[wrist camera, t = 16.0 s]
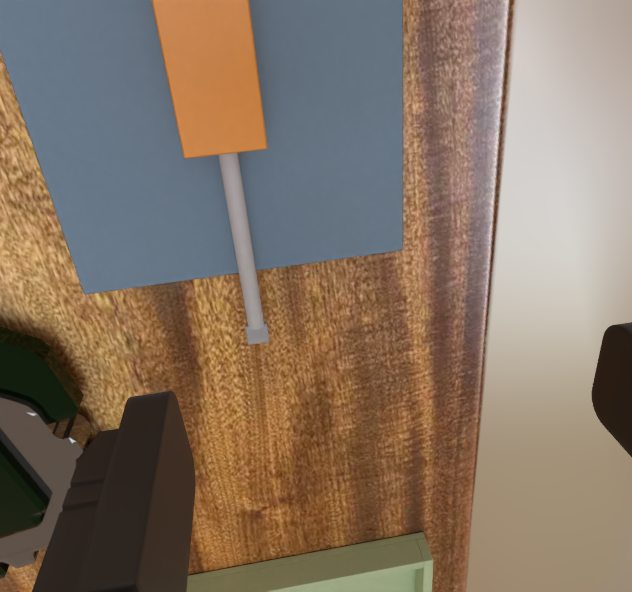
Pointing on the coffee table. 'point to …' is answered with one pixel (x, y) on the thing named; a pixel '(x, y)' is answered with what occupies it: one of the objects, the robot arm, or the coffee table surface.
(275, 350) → the coffee table surface
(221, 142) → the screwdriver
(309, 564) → the tray
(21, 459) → the clover-shaped pad
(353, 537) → the coffee table surface
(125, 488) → the robot arm
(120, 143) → the mat
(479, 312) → the coffee table surface
